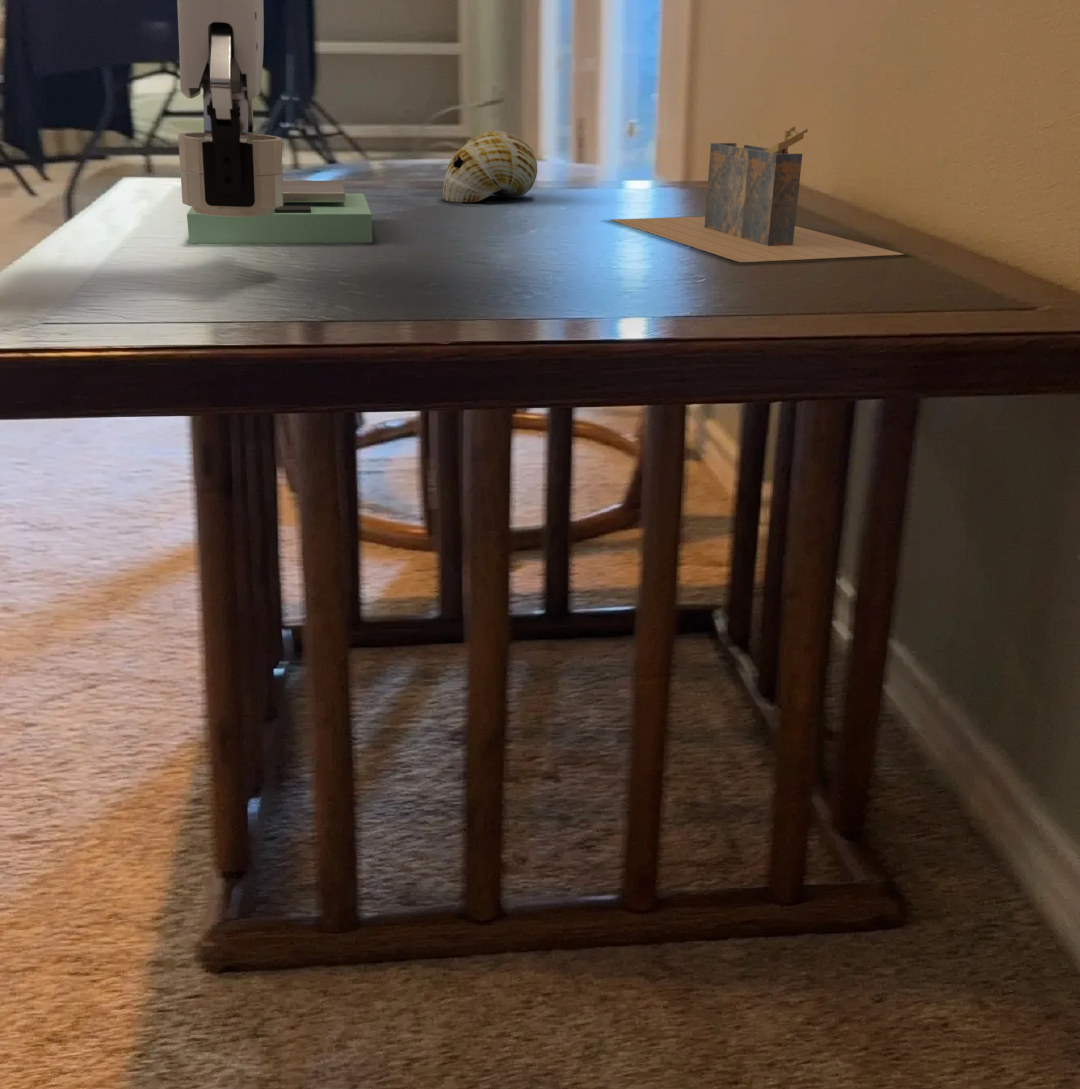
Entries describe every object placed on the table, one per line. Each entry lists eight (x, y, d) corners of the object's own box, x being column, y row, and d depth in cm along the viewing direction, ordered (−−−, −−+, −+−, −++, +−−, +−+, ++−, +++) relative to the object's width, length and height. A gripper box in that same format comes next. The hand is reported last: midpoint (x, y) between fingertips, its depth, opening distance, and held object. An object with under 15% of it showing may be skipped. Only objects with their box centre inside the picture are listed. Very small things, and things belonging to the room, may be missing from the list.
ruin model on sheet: (906, 254, 101) (923, 134, 97) (740, 262, 95) (751, 135, 91) (753, 215, 122) (762, 115, 118) (609, 219, 116) (614, 114, 112)
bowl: (179, 216, 79) (174, 137, 77) (188, 203, 85) (183, 130, 83) (282, 219, 80) (280, 142, 78) (284, 206, 86) (282, 134, 84)
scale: (189, 243, 97) (186, 210, 96) (202, 219, 110) (200, 189, 108) (372, 242, 100) (371, 209, 98) (364, 219, 112) (363, 190, 111)
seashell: (435, 197, 123) (437, 104, 124) (450, 228, 133) (451, 142, 134) (532, 194, 122) (533, 101, 123) (539, 227, 132) (540, 140, 133)
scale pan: (215, 202, 100) (214, 192, 100) (221, 189, 108) (220, 180, 108) (345, 202, 102) (345, 192, 102) (342, 189, 110) (342, 181, 110)
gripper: (172, -81, 82) (188, 183, 89) (141, -110, 67) (164, 214, 73) (282, -73, 84) (289, 186, 91) (277, -99, 68) (286, 217, 75)
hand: (233, 196), depth 82 cm, fingers closed on bowl, 6 cm apart
